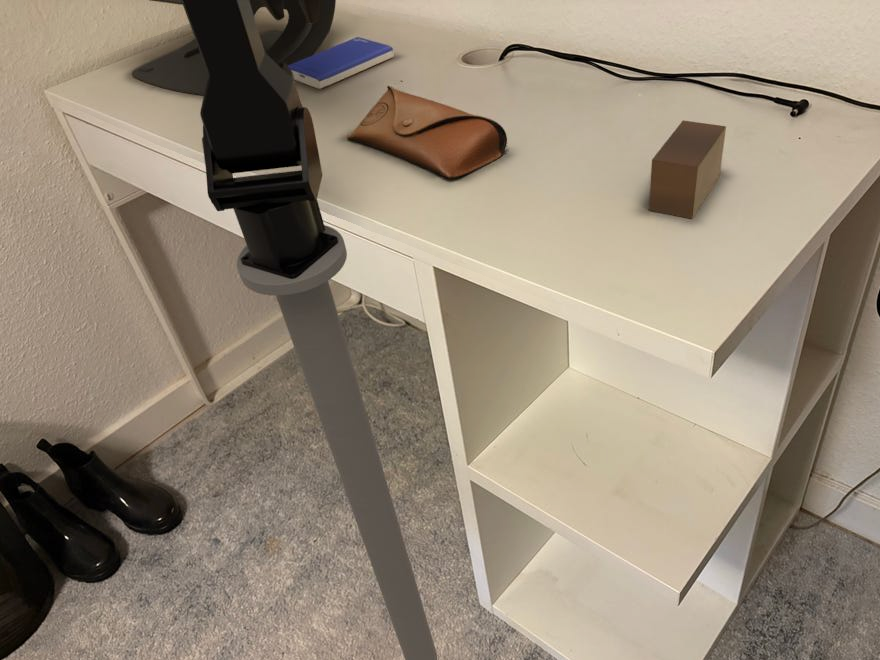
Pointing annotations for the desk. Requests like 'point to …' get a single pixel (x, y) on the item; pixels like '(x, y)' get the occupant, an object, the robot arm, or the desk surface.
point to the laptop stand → (286, 47)
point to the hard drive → (340, 62)
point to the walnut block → (686, 168)
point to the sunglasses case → (431, 134)
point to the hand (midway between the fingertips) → (296, 20)
